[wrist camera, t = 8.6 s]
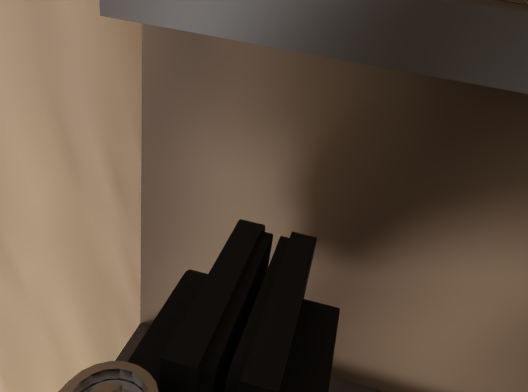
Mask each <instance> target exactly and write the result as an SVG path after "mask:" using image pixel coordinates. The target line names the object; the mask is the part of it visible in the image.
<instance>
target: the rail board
mask: <svg viewBox="0 0 528 392" xmlns="http://www.w3.org/2000/svg"><path fill="white" fill-rule="evenodd" d="M100 16H105V17H111V18H116V19H122V20H127V21H133V22H138V23H142V173H141V323H140V325H139V326H138V328H137V329H136V331H135V332H134V334H133V335H132V337H131V338H130V340H129V341H128V343H127V344H126V346H125V347H124V349H123V350H122V352H121V353H120V355H119V356H118V357H117V359H116V360H115V361H125V362H127V361H128V360H129V358H130V357H131V355H132V354H133V352H134V350H135V349H136V347H137V346H138V344H139V343H140V341H141V340H142V338H143V336H144V335H145V333H146V332H147V330H148V329H149V327H150V326H151V324H152V323H153V321H154V319H155V318H156V316H157V315H158V313H159V312H160V310H161V309H162V307H163V305H164V304H165V302H166V301H167V299H168V298H169V296H170V295H171V293H172V291H173V290H174V288H175V287H176V285H177V284H178V282H179V281H180V279H181V278H182V276H183V275H184V273H185V272H186V271H187V270H189V269H191V270H195V271H198V272H202V273H206V274H209V272H210V270H211V268H212V267H213V265H214V263H215V261H216V259H217V258H218V256H219V254H220V252H221V251H222V249H223V247H224V245H225V244H226V242H227V240H228V238H229V237H230V235H231V233H232V231H233V230H234V228H235V226H236V224H237V222H238V221H239V220H240V219H242V220H247V221H251V222H255V223H259V224H263V225H265V232H268V233H272V234H273V241H272V247H271V253H270V259H269V264H270V261H271V259H272V256H273V254H274V251H275V249H276V246H277V243H278V241H279V238H280V236H284V237H288V238H290V235H291V233H292V232H297V233H301V234H305V235H309V236H313V237H317V242H316V246H315V251H314V255H313V260H312V264H311V269H310V273H309V278H308V282H307V287H306V291H305V296H304V299H306V300H310V301H314V302H318V303H322V304H326V305H329V306H333V307H337V308H340V313H339V320H338V328H337V335H336V342H335V349H334V356H333V363H332V370H331V377H330V385H329V392H528V5H526V4H519V3H513V2H507V1H500V0H100ZM268 267H269V265H268Z"/></svg>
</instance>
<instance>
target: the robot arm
mask: <svg viewBox="0 0 528 392" xmlns="http://www.w3.org/2000/svg"><path fill="white" fill-rule="evenodd" d="M272 241H273V234H272V233H268V232H265V225H263V224H259V223H255V222H251V221H247V220H242V219H240V220H239V221H238V222H237V224H236V226H235V228H234V230H233V231H232V233H231V235H230V237H229V238H228V240H227V242H226V244H225V245H224V247H223V249H222V251H221V252H220V254H219V256H218V258H217V259H216V261H215V263H214V265H213V267H212V268H211V270H210V272H209V274H206V273H202V272H198V271H195V270H191V269H189V270H187V271H186V272H185V273H184V275H183V276H182V278H181V279H180V281H179V282H178V284H177V285H176V287H175V288H174V290H173V291H172V293H171V295H170V296H169V298H168V299H167V301H166V302H165V304H164V305H163V307H162V309H161V310H160V312H159V313H158V315H157V316H156V318H155V319H154V321H153V323H152V324H151V326H150V327H149V329H148V330H147V332H146V333H145V335H144V336H143V338H142V340H141V341H140V343H139V344H138V346H137V347H136V349H135V350H134V352H133V354H132V355H131V357H130V358H129V360H128V361H127V362H125V361H109V362H104V363H99V364H95V365H93V366H91V367H89V368H87V369H85V370H82V371H81V372H79V373H78V374H77V375H76V376H74V377H73V378H72V379H71V380H69V381H68V382H67V383H66V384H65V385H64V387H63V388H62V389H61V390H60V391H59V392H329V385H330V377H331V370H332V363H333V356H334V349H335V342H336V335H337V328H338V320H339V313H340V308H337V307H333V306H329V305H326V304H322V303H318V302H314V301H310V300H306V299H304V296H305V291H306V287H307V282H308V278H309V273H310V269H311V264H312V260H313V255H314V251H315V246H316V242H317V237H313V236H309V235H305V234H301V233H297V232H292V233H291V235H290V238H288V237H284V236H280V238H279V241H278V243H277V246H276V249H275V251H274V254H273V256H272V259H271V261H270V264H269V259H270V253H271V247H272ZM268 265H269V267H268Z"/></svg>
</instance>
